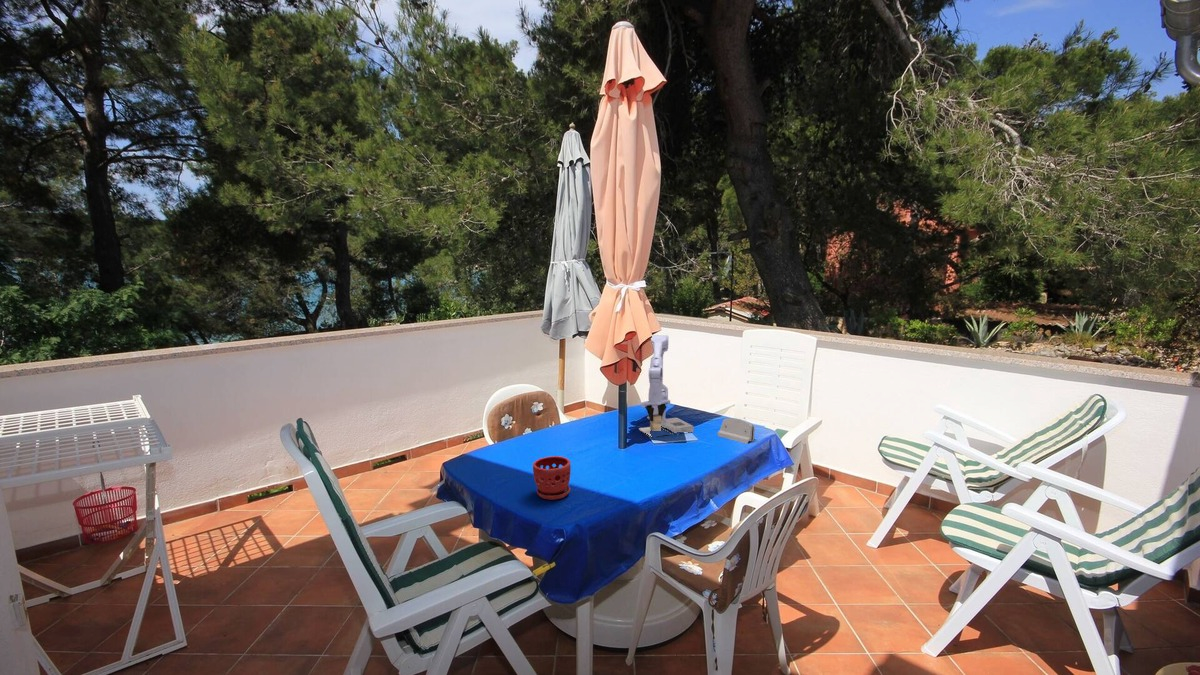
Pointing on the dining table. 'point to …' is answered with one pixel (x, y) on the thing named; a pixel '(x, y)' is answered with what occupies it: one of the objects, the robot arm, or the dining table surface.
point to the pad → (646, 430)
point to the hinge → (737, 430)
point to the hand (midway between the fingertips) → (655, 420)
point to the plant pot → (552, 477)
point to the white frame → (676, 425)
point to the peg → (656, 423)
